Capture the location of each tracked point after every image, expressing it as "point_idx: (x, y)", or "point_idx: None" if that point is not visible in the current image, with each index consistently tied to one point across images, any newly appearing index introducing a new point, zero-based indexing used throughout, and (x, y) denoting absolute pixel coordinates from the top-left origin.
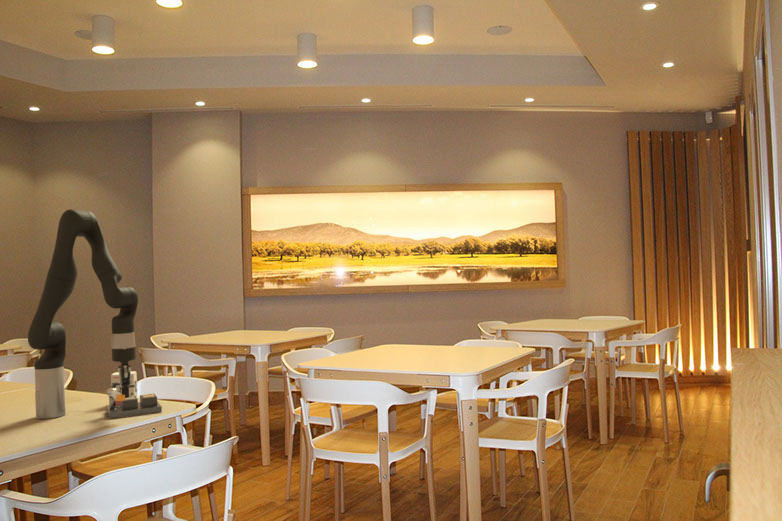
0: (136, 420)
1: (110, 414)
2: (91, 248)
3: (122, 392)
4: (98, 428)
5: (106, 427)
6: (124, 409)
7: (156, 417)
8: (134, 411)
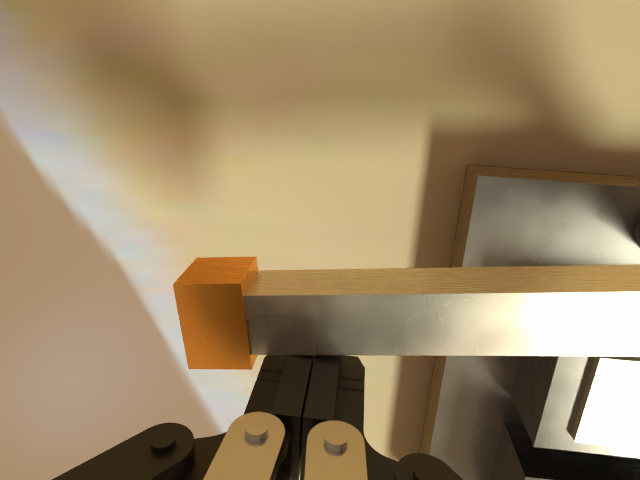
0: None
1: (472, 181)
2: None
3: (281, 372)
4: (138, 40)
5: (140, 101)
6: None
7: None
8: None
